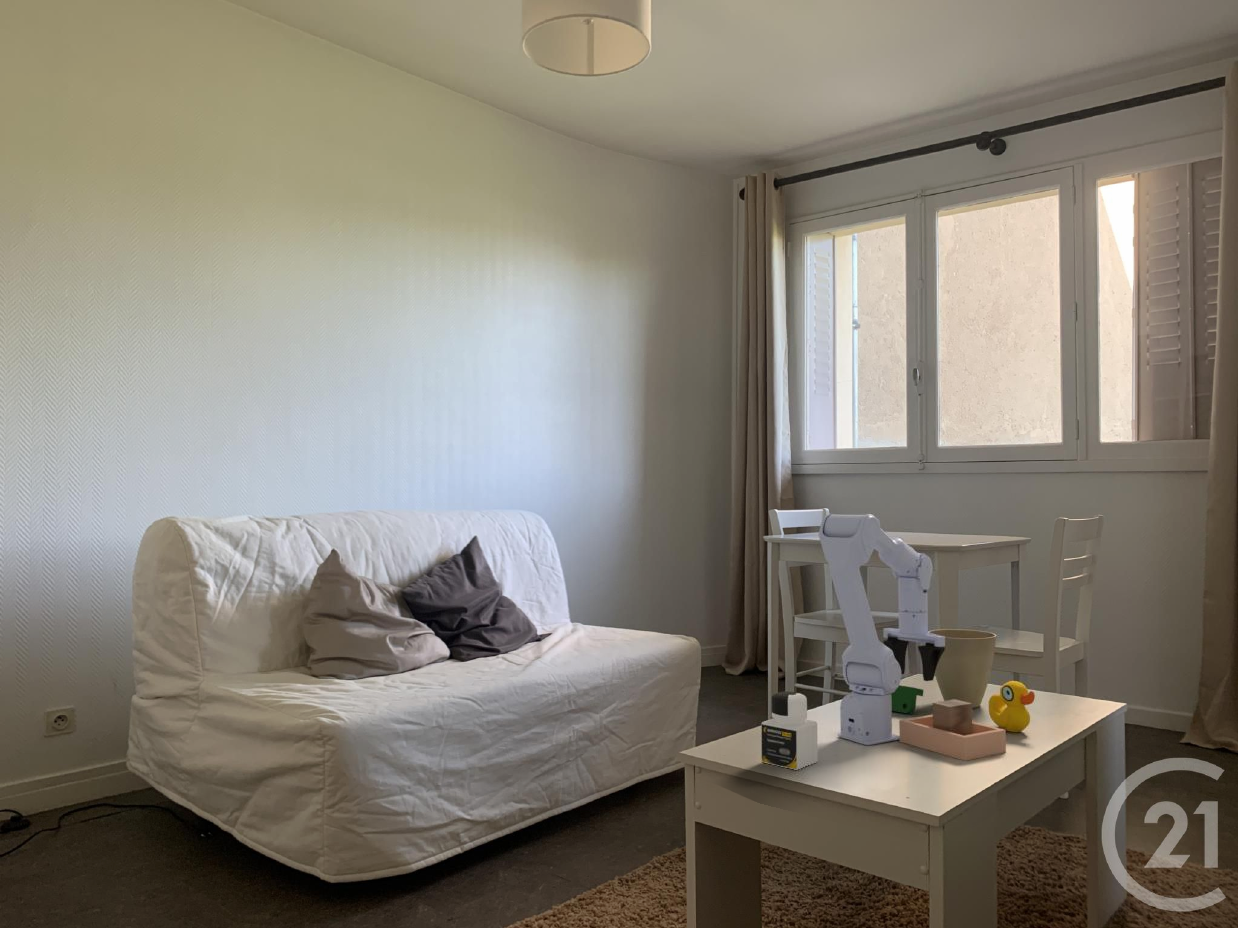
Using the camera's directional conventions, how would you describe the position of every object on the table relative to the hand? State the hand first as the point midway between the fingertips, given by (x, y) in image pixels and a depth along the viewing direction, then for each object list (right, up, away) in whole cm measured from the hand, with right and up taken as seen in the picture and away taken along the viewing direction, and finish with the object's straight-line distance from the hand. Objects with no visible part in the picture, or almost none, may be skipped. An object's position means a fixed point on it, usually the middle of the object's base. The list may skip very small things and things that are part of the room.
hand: (913, 677), depth 188 cm
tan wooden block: (+1, -8, -18) cm, 20 cm away
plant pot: (+16, -10, +17) cm, 26 cm away
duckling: (+17, -9, -6) cm, 21 cm away
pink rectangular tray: (+1, -9, -18) cm, 20 cm away
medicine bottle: (-31, -8, -29) cm, 43 cm away
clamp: (0, -10, +13) cm, 17 cm away
